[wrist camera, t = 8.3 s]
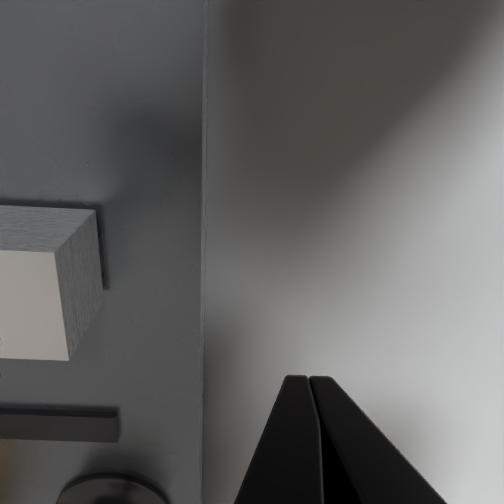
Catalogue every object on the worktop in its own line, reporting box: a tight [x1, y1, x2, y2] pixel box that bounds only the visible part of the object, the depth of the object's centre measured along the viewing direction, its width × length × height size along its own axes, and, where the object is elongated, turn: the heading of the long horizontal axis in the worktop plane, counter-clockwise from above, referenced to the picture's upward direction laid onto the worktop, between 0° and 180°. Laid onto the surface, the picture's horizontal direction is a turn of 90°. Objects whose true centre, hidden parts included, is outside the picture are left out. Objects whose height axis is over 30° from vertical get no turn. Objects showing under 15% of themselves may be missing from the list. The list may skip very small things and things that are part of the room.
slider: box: [0, 205, 104, 361], centre depth 12 cm, size 4×3×3 cm
